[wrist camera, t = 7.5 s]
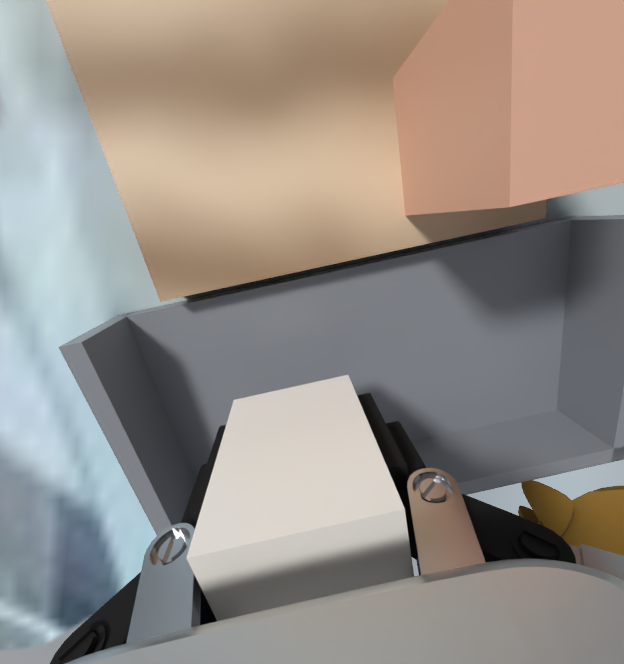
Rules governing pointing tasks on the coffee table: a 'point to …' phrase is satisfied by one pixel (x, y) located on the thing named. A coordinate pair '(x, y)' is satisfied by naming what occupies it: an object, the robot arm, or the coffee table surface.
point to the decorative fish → (579, 515)
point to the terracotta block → (511, 104)
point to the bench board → (256, 132)
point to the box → (386, 359)
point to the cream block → (297, 504)
